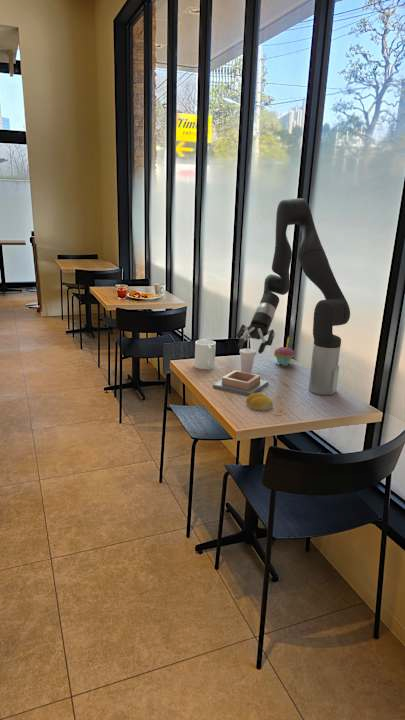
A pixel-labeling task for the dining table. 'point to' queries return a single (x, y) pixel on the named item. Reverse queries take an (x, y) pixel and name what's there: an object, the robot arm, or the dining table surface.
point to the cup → (205, 354)
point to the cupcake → (284, 354)
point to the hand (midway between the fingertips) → (249, 350)
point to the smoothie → (247, 359)
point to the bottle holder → (241, 383)
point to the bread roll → (259, 402)
